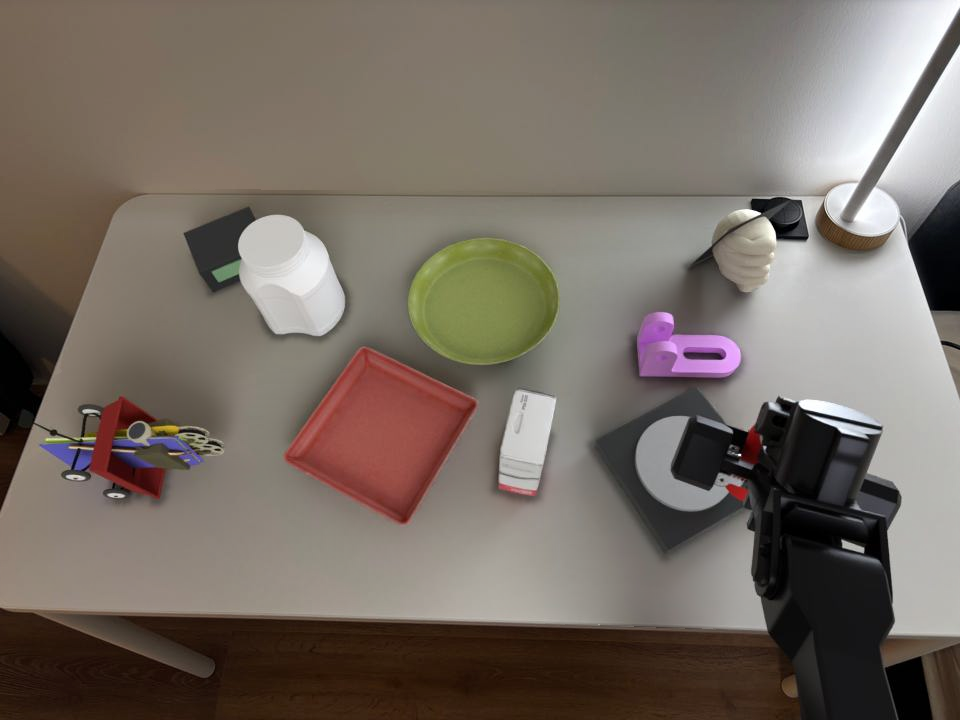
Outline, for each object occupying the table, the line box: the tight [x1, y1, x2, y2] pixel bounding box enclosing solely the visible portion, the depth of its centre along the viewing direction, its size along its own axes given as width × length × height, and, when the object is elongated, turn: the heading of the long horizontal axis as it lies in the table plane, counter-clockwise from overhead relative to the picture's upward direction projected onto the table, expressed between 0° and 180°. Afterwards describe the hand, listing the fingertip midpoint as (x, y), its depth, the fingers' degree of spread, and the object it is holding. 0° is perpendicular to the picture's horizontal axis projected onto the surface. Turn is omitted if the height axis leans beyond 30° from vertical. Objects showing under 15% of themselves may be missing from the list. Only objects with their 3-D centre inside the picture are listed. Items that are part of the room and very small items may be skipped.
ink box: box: [497, 387, 557, 497], centre depth 76 cm, size 9×5×12 cm, turn 167°
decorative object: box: [689, 197, 795, 293], centre depth 88 cm, size 13×10×10 cm
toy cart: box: [17, 395, 226, 500], centre depth 75 cm, size 17×9×20 cm
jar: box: [238, 214, 346, 337], centre depth 86 cm, size 12×10×15 cm
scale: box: [594, 386, 745, 555], centre depth 78 cm, size 15×15×3 cm
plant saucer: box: [282, 346, 479, 527], centre depth 81 cm, size 18×18×3 cm
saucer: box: [407, 237, 561, 366], centre depth 90 cm, size 21×21×3 cm
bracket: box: [636, 311, 742, 379], centre depth 83 cm, size 13×6×7 cm, turn 88°
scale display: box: [182, 205, 257, 293], centre depth 95 cm, size 8×10×5 cm
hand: (769, 447), depth 68 cm, fingers closed on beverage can, 6 cm apart
